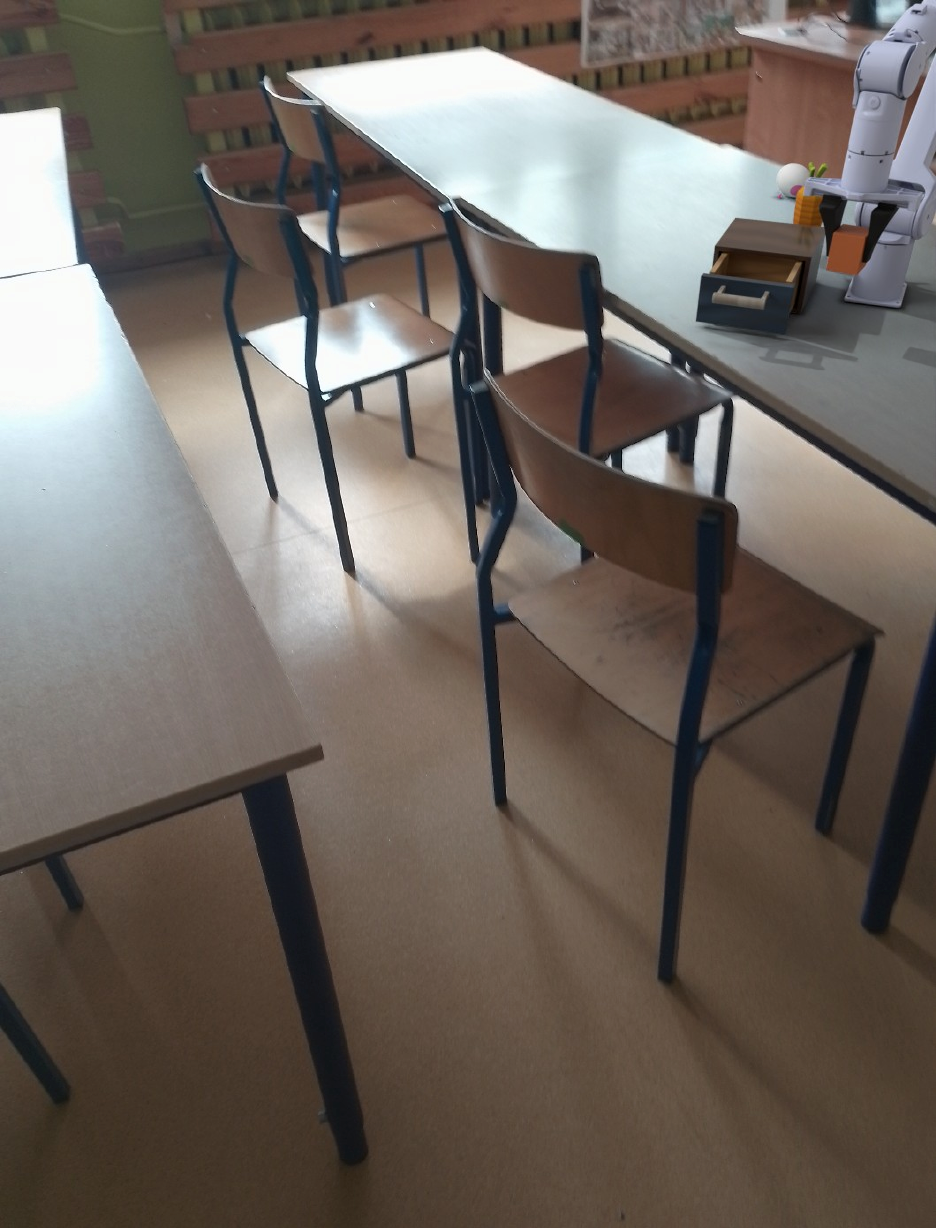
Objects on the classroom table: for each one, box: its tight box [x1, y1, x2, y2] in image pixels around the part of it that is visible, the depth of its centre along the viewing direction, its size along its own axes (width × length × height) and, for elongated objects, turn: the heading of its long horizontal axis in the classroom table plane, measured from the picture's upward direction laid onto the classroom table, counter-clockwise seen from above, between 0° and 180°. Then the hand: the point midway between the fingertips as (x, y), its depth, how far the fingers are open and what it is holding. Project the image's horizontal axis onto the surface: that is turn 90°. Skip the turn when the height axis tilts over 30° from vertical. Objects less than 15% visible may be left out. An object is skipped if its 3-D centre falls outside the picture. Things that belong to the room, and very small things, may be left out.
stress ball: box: [776, 162, 810, 199], centre depth 186 cm, size 8×8×7 cm
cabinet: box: [711, 217, 826, 315], centre depth 149 cm, size 13×14×8 cm
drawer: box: [695, 252, 804, 335], centre depth 140 cm, size 17×13×7 cm
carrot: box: [792, 161, 830, 227], centre depth 157 cm, size 5×5×15 cm
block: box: [825, 223, 869, 276], centre depth 132 cm, size 4×4×5 cm
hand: (847, 257), depth 133 cm, fingers closed on block, 4 cm apart
